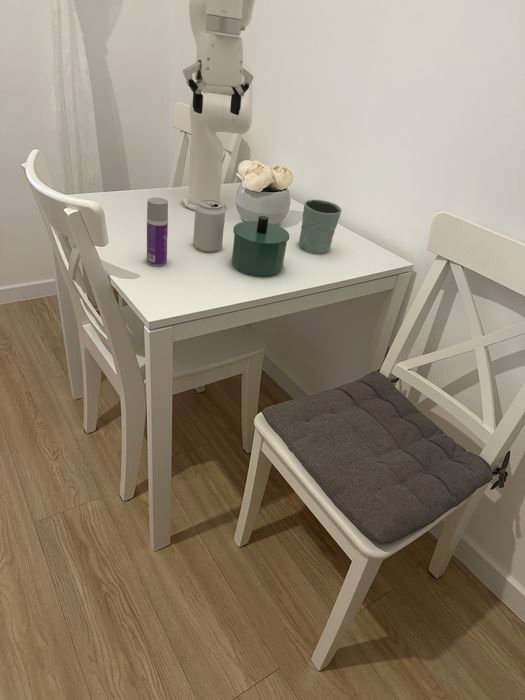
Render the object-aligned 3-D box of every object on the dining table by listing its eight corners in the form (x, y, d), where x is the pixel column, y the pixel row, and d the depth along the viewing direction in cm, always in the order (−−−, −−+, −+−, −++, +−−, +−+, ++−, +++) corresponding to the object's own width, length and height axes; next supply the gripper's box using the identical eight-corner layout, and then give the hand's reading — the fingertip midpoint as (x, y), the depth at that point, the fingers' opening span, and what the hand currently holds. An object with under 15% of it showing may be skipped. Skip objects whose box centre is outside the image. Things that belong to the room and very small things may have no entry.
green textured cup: (306, 237, 147) (314, 196, 141) (337, 248, 144) (347, 207, 137) (290, 247, 140) (297, 204, 133) (323, 259, 136) (332, 215, 130)
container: (167, 266, 120) (169, 204, 112) (147, 266, 119) (148, 204, 110) (165, 258, 124) (166, 197, 115) (145, 258, 122) (145, 196, 114)
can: (217, 255, 129) (221, 209, 122) (189, 249, 130) (191, 203, 123) (225, 245, 135) (229, 200, 128) (198, 239, 136) (200, 195, 129)
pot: (233, 275, 121) (237, 242, 116) (230, 253, 131) (233, 221, 126) (285, 278, 123) (291, 246, 119) (277, 256, 133) (282, 225, 129)
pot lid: (235, 245, 116) (237, 226, 114) (230, 223, 127) (232, 205, 125) (293, 249, 119) (296, 230, 116) (283, 227, 130) (286, 210, 127)
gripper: (248, 29, 116) (240, 111, 126) (178, 20, 107) (175, 108, 117) (265, 33, 111) (256, 117, 121) (194, 23, 102) (189, 115, 112)
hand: (216, 113), depth 119 cm, fingers open, 9 cm apart
